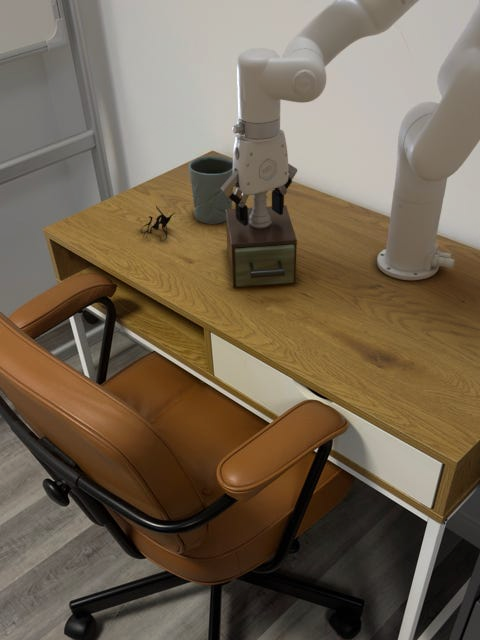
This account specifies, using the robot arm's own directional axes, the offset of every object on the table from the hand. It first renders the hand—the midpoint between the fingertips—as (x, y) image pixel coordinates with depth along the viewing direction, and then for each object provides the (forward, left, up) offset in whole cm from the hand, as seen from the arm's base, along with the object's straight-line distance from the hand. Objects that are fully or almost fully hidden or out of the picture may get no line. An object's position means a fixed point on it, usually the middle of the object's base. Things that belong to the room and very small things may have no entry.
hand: (260, 216), depth 139 cm
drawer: (-2, +3, -10) cm, 11 cm away
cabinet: (0, 0, -11) cm, 11 cm away
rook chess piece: (0, 0, -2) cm, 2 cm away
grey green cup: (+19, -17, -11) cm, 28 cm away
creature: (+27, -4, -11) cm, 30 cm away
